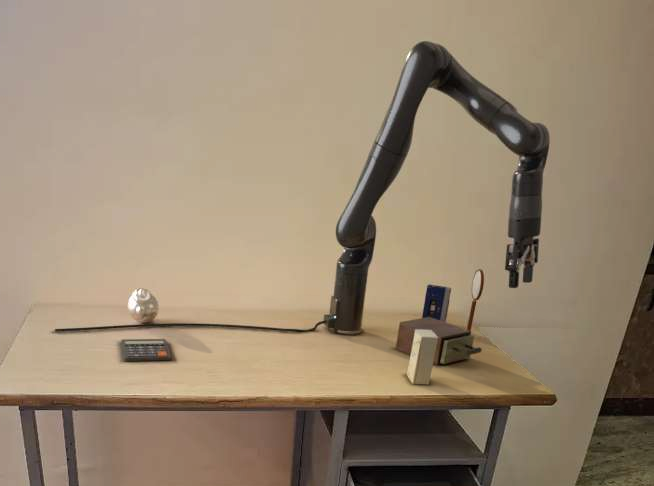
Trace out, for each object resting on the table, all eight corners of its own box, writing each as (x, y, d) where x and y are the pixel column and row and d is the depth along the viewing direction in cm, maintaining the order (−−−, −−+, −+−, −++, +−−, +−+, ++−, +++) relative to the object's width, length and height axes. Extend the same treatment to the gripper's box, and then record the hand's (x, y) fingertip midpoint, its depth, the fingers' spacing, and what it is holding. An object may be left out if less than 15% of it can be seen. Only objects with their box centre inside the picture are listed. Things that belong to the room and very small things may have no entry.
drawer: (484, 363, 188) (489, 340, 185) (457, 369, 182) (462, 346, 179) (430, 343, 201) (434, 322, 198) (404, 348, 195) (407, 327, 192)
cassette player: (420, 323, 221) (427, 284, 215) (422, 321, 223) (428, 283, 217) (443, 327, 219) (450, 288, 213) (445, 325, 221) (452, 286, 215)
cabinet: (465, 358, 193) (471, 331, 189) (436, 365, 187) (441, 337, 183) (424, 343, 203) (429, 316, 200) (395, 349, 197) (399, 322, 193)
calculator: (123, 357, 174) (121, 338, 186) (124, 360, 174) (121, 342, 187) (171, 356, 177) (165, 338, 189) (171, 359, 177) (165, 341, 190)
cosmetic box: (406, 375, 178) (414, 328, 172) (423, 376, 179) (431, 329, 172) (412, 384, 173) (420, 336, 167) (430, 385, 173) (438, 337, 167)
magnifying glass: (473, 342, 207) (487, 273, 197) (467, 342, 207) (481, 272, 197) (466, 333, 214) (479, 266, 204) (460, 333, 214) (474, 266, 204)
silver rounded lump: (122, 325, 201) (120, 289, 196) (135, 316, 209) (134, 282, 204) (152, 328, 199) (151, 293, 194) (164, 320, 207) (163, 285, 202)
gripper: (521, 213, 176) (517, 280, 183) (497, 218, 167) (493, 289, 173) (551, 212, 172) (546, 281, 178) (528, 218, 162) (523, 290, 169)
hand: (520, 285), depth 176 cm, fingers open, 8 cm apart
